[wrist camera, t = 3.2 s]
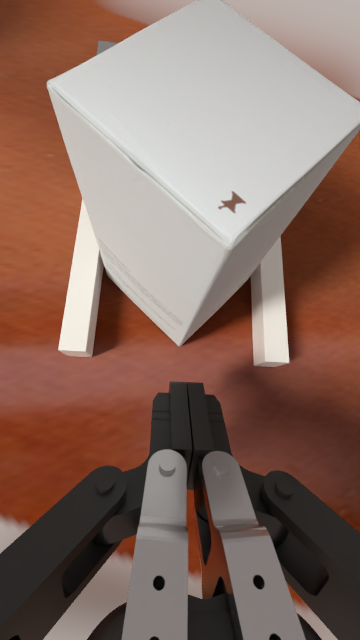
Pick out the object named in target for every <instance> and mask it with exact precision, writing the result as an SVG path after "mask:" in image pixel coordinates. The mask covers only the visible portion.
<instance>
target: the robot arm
mask: <svg viewBox="0 0 360 640" xmlns="http://www.w3.org/2000/svg"><path fill="white" fill-rule="evenodd" d="M187 490H194V505H193V515H194V522H195V529H196V535H197V542H198V549H199V556H200V562H201V571H202V599H200V598H197V597H194V596H191V595H188V530H187V528H186V491H187ZM136 534H137V537H136V544H135V551H134V558H133V564H132V571H131V578H130V585H129V592H128V599H127V602H126V603H124V604H123V605H121V606H119V607H117V608H116V609H115V610H113V611H112V612H111V613H109V614H108V615H107V616H106V617H105V618H104V619H103V620H102V621H101V622H100V624H99V625H98V626H97V627H96V628H95V629H94V630H93V632H92V633H91V635H90V636H89V638H88V639H87V640H322V639H321V638H320V637H319V636H318V634H317V633H316V632H315V631H314V629H313V628H312V627H311V626H310V625H309V624H308V623H307V622H306V621H305V620H304V619H303V618H302V617H301V616H300V615H299V614H297V613H296V610H295V607H294V604H293V601H292V598H291V595H290V592H289V589H288V586H287V583H288V584H289V585H290V586H291V587H292V588H293V589H294V590H295V592H296V593H297V594H298V595H299V596H300V597H301V598H302V599H303V601H304V602H305V603H306V604H307V605H308V606H309V607H310V608H311V610H312V611H313V612H314V613H315V614H316V615H317V616H318V617H319V619H320V620H321V621H322V622H323V623H324V624H325V625H326V626H327V628H328V629H329V630H330V631H331V632H332V633H333V634H334V635H335V637H336V638H337V639H338V640H360V533H359V532H358V531H357V530H355V529H354V528H353V527H352V526H351V525H349V524H348V523H347V522H346V521H345V520H344V519H342V518H341V517H340V516H339V515H338V514H336V513H335V512H334V511H333V510H332V509H331V508H329V507H328V506H327V505H326V504H325V503H324V502H322V501H321V500H320V499H319V498H318V497H316V496H315V495H314V494H313V493H312V492H311V491H309V490H308V489H307V488H306V487H305V486H304V485H302V484H301V483H300V482H299V481H298V480H296V479H295V478H294V477H293V476H291V475H290V474H288V473H286V472H283V471H271V472H269V473H268V474H267V475H266V476H262V475H259V474H256V473H253V472H250V471H248V470H246V469H244V468H243V467H241V466H240V465H239V464H238V462H237V461H236V460H235V458H233V456H232V453H231V449H230V445H229V440H228V436H227V432H226V427H225V423H224V418H223V415H222V409H221V405H220V403H219V401H218V400H217V399H216V397H215V396H214V395H205V392H204V386H203V383H193V382H187V383H186V382H171V381H170V385H169V393H158V394H157V395H156V397H155V398H154V400H153V408H152V422H151V439H150V454H149V456H148V458H147V460H146V461H145V462H144V463H143V464H142V465H140V466H139V467H137V468H135V469H132V470H128V471H125V472H122V471H121V470H120V469H118V468H116V467H114V466H102V467H99V468H97V469H95V470H94V471H92V472H91V473H90V474H89V475H88V476H87V477H85V478H84V479H83V480H82V481H81V482H80V483H79V484H78V485H77V486H75V487H74V488H73V489H72V490H71V491H70V492H69V493H68V494H66V495H65V496H64V497H63V498H62V499H61V500H60V501H59V502H58V503H56V504H55V505H54V506H53V507H52V508H51V509H50V510H49V511H48V512H46V513H45V514H44V515H43V516H42V517H41V518H40V519H39V520H37V521H36V522H35V523H34V524H33V525H32V526H31V527H30V528H29V529H27V530H26V531H25V532H24V533H23V534H22V535H21V536H20V537H18V538H17V539H16V540H15V541H14V542H13V543H12V544H11V545H10V546H8V547H7V548H6V549H5V550H4V551H3V552H2V553H1V554H0V640H43V639H44V637H45V636H46V635H47V634H48V632H49V631H50V630H51V629H52V627H53V626H54V625H55V624H56V623H57V621H58V620H59V619H60V618H61V616H62V615H63V613H65V611H66V610H67V609H68V608H69V606H70V605H71V604H72V603H73V602H74V600H75V599H76V598H77V597H78V595H79V594H80V593H81V591H82V590H83V589H84V588H85V587H86V585H87V584H88V583H89V582H90V580H91V579H92V578H93V577H94V576H95V574H96V573H97V572H98V571H99V569H100V568H101V567H102V566H103V564H104V563H105V562H106V561H107V559H108V558H109V557H110V556H111V555H112V553H113V552H114V551H115V550H116V548H117V547H118V546H119V545H120V543H121V542H122V540H123V539H125V538H128V537H131V536H133V535H136ZM285 580H286V581H287V583H286V581H285Z"/></svg>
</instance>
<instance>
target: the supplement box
mask: <svg viewBox="0 0 360 640" xmlns="http://www.w3.org/2000/svg"><path fill="white" fill-rule="evenodd" d="M47 88H48V91H49V94H50V97H51V101H52V104H53V107H54V111H55V114H56V117H57V120H58V124H59V127H60V130H61V133H62V136H63V139H64V143H65V146H66V149H67V152H68V155H69V158H70V162H71V164H72V167H73V170H74V173H75V176H76V180H77V183H78V186H79V189H80V192H81V195H82V198H83V201H84V204H85V207H86V210H87V213H88V216H89V219H90V222H91V225H92V228H93V231H94V235H95V238H96V241H97V244H98V247H99V250H100V253H101V257H102V260H103V263H104V266H105V269H106V273H107V276H108V277H109V278H110V279H111V280H112V281H113V282H114V283H115V284H116V285H117V286H118V287H119V288H120V289H121V290H122V291H123V292H124V293H125V294H126V295H127V296H128V297H129V298H130V299H131V300H132V301H133V302H134V303H135V304H136V305H137V306H138V307H139V308H140V309H141V310H142V311H143V312H144V313H145V314H146V315H147V316H148V317H149V318H150V319H151V320H152V321H153V322H154V323H155V324H156V325H157V326H158V327H159V328H160V329H162V330H163V331H164V332H165V333H166V334H167V335H168V336H169V337H170V338H171V339H172V340H173V341H174V342H175V343H176V344H177V345H178V346H181V345H182V344H183V343H184V342H185V341H186V340H187V339H188V338H190V337H191V336H192V335H193V334H194V333H195V332H196V331H197V330H198V329H199V328H200V327H201V326H202V325H203V324H204V323H205V322H206V321H207V320H208V319H209V318H210V317H211V316H212V315H213V314H214V313H215V312H216V311H217V310H218V309H219V308H220V307H221V306H222V305H223V304H224V303H225V302H226V301H227V300H228V299H229V298H230V297H231V296H232V295H233V294H234V293H235V292H236V291H237V290H238V289H239V288H240V287H241V286H242V285H243V284H244V283H245V282H246V281H247V280H248V279H249V277H250V276H251V274H252V273H253V272H254V270H255V269H256V268H257V266H258V265H259V264H260V262H261V261H262V259H263V258H264V257H265V256H266V254H267V253H268V252H269V250H270V249H271V248H272V246H273V245H274V244H275V242H276V241H277V240H278V238H279V237H280V236H281V234H282V233H283V232H284V230H285V229H286V228H287V226H288V225H289V224H290V222H291V221H292V220H293V219H294V217H295V216H296V215H297V213H298V212H299V211H300V209H301V208H302V207H303V205H304V204H305V203H306V201H307V200H308V199H309V197H310V196H311V195H312V193H313V192H314V191H315V189H316V188H317V187H318V185H319V184H320V183H321V181H322V180H323V179H324V177H325V176H326V175H327V173H328V172H329V171H330V169H331V168H332V166H333V165H334V164H335V162H336V161H337V160H338V158H339V157H340V156H341V154H342V153H343V152H344V150H345V149H346V148H347V146H348V145H349V144H350V142H351V141H352V140H353V138H354V137H355V136H356V134H357V133H358V132H359V130H360V102H359V101H358V100H356V99H355V98H353V97H352V96H350V95H349V94H348V93H346V92H345V91H343V90H342V89H341V88H339V87H338V86H336V85H335V84H334V83H332V82H331V81H330V80H328V79H327V78H325V77H324V76H323V75H321V74H320V73H319V72H317V71H316V70H315V69H313V68H312V67H310V66H309V65H308V64H306V63H305V62H304V61H302V60H301V59H300V58H298V57H297V56H295V55H294V54H293V53H292V52H290V51H289V50H287V49H286V48H285V47H283V46H282V45H281V44H279V43H278V42H277V41H275V40H274V39H273V38H271V37H270V36H268V35H267V34H266V33H265V32H263V31H262V30H261V29H259V28H258V27H257V26H255V25H254V24H253V23H251V22H250V21H248V20H247V19H246V18H244V17H243V16H242V15H240V14H239V13H238V12H237V11H235V10H234V9H233V8H232V7H230V6H229V5H228V4H226V3H225V2H223V1H222V0H196V1H194V2H193V3H191V4H189V5H187V6H185V7H183V8H181V9H179V10H178V11H176V12H174V13H172V14H171V15H169V16H167V17H165V18H163V19H161V20H159V21H157V22H155V23H154V24H152V25H150V26H148V27H146V28H144V29H143V30H141V31H139V32H137V33H135V34H134V35H132V36H130V37H128V38H127V39H125V40H123V41H121V42H120V43H118V44H116V45H114V46H113V47H111V48H109V49H107V50H105V51H104V52H102V53H100V54H98V55H97V56H95V57H93V58H91V59H90V60H88V61H86V62H84V63H82V64H80V65H78V66H76V67H75V68H73V69H71V70H69V71H67V72H65V73H63V74H61V75H59V76H57V77H55V78H53V79H50V80H49V81H48V82H47Z"/></svg>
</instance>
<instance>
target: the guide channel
mask: <svg viewBox="0 0 360 640" xmlns="http://www.w3.org/2000/svg"><path fill="white" fill-rule="evenodd" d="M116 44H118V43H114V42H107V41H100V40H99V43H98V49H97V54H96V56H97V55H98V54H100V53H102V52H104V51H105V50H107V49H109V48H111V47H113V46H114V45H116ZM103 267H104V263H103V260H102V257H101V253H100V250H99V247H98V244H97V241H96V238H95V235H94V231H93V228H92V225H91V222H90V219H89V216H88V213H87V210H86V207H85V204H84V201H83V199H82V206H81V212H80V218H79V224H78V230H77V237H76V243H75V249H74V255H73V261H72V268H71V274H70V280H69V286H68V293H67V299H66V305H65V311H64V317H63V324H62V330H61V336H60V342H59V348H58V350H59V351H61V352H62V353H64V354H66V355H67V356H80V357H92V354H93V346H94V338H95V330H96V323H97V315H98V307H99V299H100V291H101V283H102V275H103ZM251 302H252V331H253V360H254V366H265V367H277V366H281V365H284V364H287V363H289V350H288V336H287V322H286V307H285V293H284V279H283V264H282V250H281V236H280V237H279V238H278V240H277V241H276V242H275V244H274V245H273V246H272V248H271V249H270V250H269V252H268V253H267V254H266V256H265V257H264V258H263V259H262V261H261V262H260V264H259V265H258V266H257V268H256V269H255V270H254V272H253V273H252V274H251Z"/></svg>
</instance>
